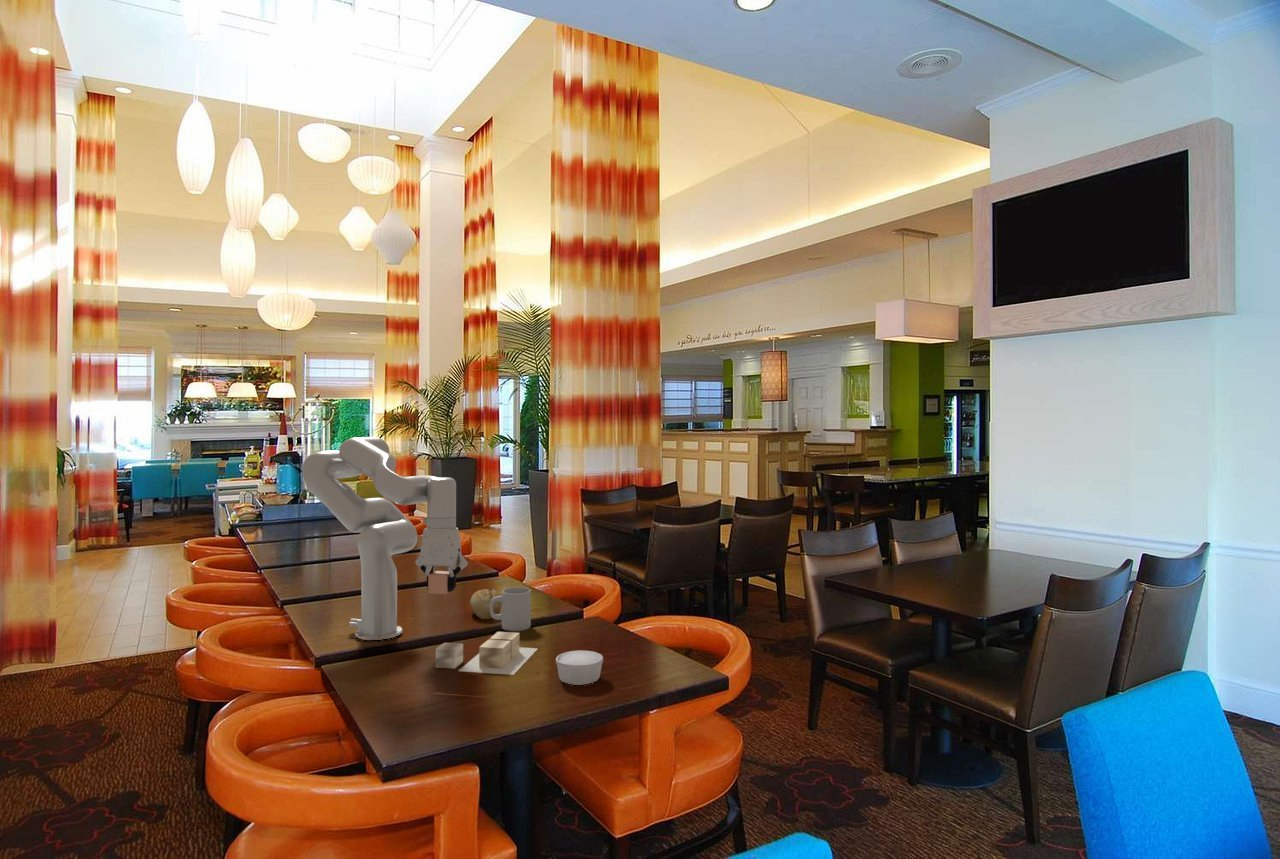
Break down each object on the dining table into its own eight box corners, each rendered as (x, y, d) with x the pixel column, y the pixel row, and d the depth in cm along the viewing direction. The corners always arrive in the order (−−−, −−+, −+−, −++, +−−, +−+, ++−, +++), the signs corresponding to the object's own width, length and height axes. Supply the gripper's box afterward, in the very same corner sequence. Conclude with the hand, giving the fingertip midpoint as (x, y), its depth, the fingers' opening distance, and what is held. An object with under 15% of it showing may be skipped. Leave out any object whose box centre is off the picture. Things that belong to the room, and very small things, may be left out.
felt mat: (458, 672, 171) (458, 670, 171) (488, 646, 191) (488, 645, 191) (513, 675, 169) (513, 674, 169) (537, 649, 188) (537, 648, 188)
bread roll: (495, 607, 231) (495, 583, 231) (506, 619, 217) (506, 593, 217) (466, 610, 227) (466, 586, 227) (475, 622, 213) (475, 596, 213)
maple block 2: (489, 657, 181) (489, 638, 181) (497, 650, 187) (497, 631, 186) (511, 659, 180) (512, 639, 180) (519, 651, 186) (519, 632, 186)
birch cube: (435, 668, 173) (435, 648, 173) (444, 662, 178) (444, 642, 178) (454, 670, 173) (454, 649, 172) (462, 663, 177) (463, 643, 177)
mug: (529, 622, 214) (529, 586, 214) (531, 630, 206) (532, 593, 206) (489, 624, 211) (489, 588, 211) (490, 633, 203) (490, 595, 203)
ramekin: (550, 674, 170) (550, 653, 170) (593, 668, 175) (593, 647, 175) (563, 691, 160) (563, 668, 160) (609, 684, 164) (609, 661, 164)
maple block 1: (479, 667, 174) (479, 646, 174) (488, 659, 180) (488, 639, 180) (502, 668, 173) (502, 648, 173) (510, 660, 179) (510, 640, 179)
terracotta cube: (428, 593, 188) (428, 574, 188) (436, 589, 193) (436, 570, 193) (446, 594, 187) (446, 575, 187) (453, 589, 192) (453, 571, 192)
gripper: (405, 524, 188) (405, 592, 188) (466, 526, 185) (465, 595, 185) (418, 520, 195) (418, 585, 195) (476, 522, 193) (476, 588, 193)
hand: (441, 589), depth 190 cm, fingers closed on terracotta cube, 4 cm apart
